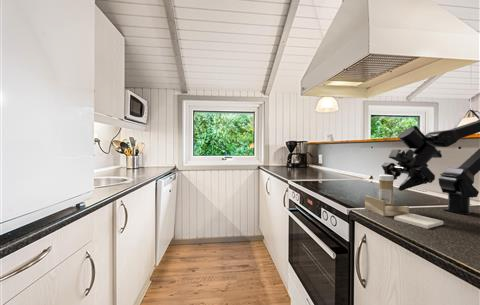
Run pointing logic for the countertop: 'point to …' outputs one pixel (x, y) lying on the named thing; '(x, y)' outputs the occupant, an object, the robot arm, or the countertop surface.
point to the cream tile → (419, 220)
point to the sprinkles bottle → (386, 189)
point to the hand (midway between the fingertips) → (389, 187)
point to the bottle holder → (384, 207)
